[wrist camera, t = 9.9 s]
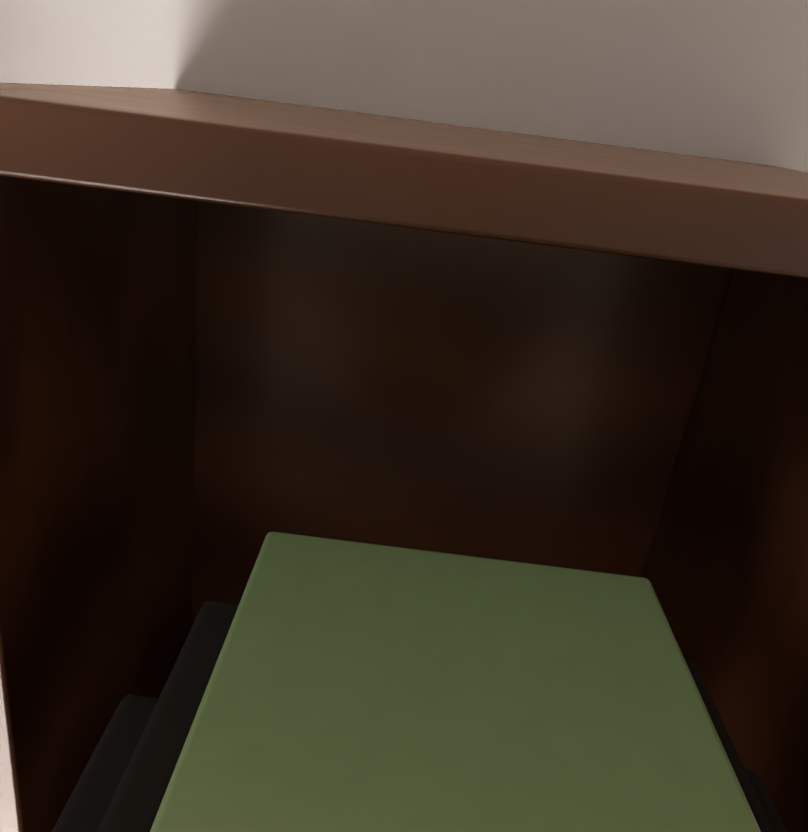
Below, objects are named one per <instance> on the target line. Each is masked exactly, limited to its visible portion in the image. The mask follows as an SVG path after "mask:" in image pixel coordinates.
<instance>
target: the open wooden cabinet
mask: <svg viewBox="0 0 808 832" xmlns="http://www.w3.org/2000/svg"><path fill="white" fill-rule="evenodd" d="M269 532H281V533H289V534H297V535H305V536H313V537H321V538H329V539H337V540H346V541H354V542H362V543H370V544H378V545H386V546H394V547H402V548H410V549H418V550H426V551H434V552H442V553H450V554H458V555H466V556H474V557H483V558H491V559H499V560H507V561H515V562H523V563H531V564H539V565H547V566H555V567H563V568H571V569H579V570H587V571H595V572H603V573H611V574H620V575H628V576H636V577H644V578H646V579H648V580H649V581H650V582H651V585H652V587H653V589H654V591H655V594H656V596H657V598H658V600H659V603H660V605H661V607H662V609H663V612H664V614H665V616H666V618H667V621H668V623H669V625H670V627H671V630H672V632H673V634H674V637H675V639H676V641H677V643H678V646H679V648H680V650H681V652H682V655H683V657H684V659H685V660H687V661H692V662H694V663H695V664H696V666H697V667H698V669H699V671H700V673H701V675H702V677H703V680H704V682H705V684H706V686H707V688H708V691H709V693H710V695H711V697H712V699H713V701H714V704H715V706H716V708H717V710H718V712H719V715H720V717H721V719H722V721H723V723H724V725H725V728H726V730H727V732H728V734H729V736H730V739H731V741H732V743H733V745H734V747H735V749H736V752H737V754H738V756H739V758H740V760H741V763H742V765H743V767H744V769H745V770H751V771H753V772H754V773H755V774H756V775H757V776H759V778H760V779H761V781H762V783H763V784H764V786H765V787H766V789H767V792H768V794H769V796H770V798H771V800H772V802H773V804H774V806H775V808H776V810H777V813H778V815H779V817H780V819H781V821H782V823H783V825H784V827H785V829H786V831H787V832H808V173H806V172H801V171H796V170H792V169H787V168H782V167H775V166H767V165H759V164H751V163H744V162H736V161H728V160H720V159H713V158H705V157H697V156H689V155H682V154H674V153H666V152H658V151H651V150H643V149H635V148H627V147H620V146H612V145H604V144H596V143H589V142H581V141H573V140H565V139H558V138H550V137H542V136H534V135H527V134H519V133H511V132H503V131H496V130H488V129H480V128H472V127H465V126H457V125H449V124H441V123H434V122H426V121H418V120H410V119H403V118H395V117H387V116H379V115H372V114H364V113H356V112H348V111H341V110H333V109H325V108H317V107H310V106H302V105H294V104H286V103H279V102H271V101H263V100H256V99H248V98H240V97H232V96H225V95H217V94H209V93H201V92H194V91H186V90H178V89H157V88H130V87H102V86H74V85H46V84H18V83H0V832H52V830H53V828H54V826H55V824H56V822H57V820H58V818H59V817H60V815H61V813H62V811H63V809H64V807H65V805H66V803H67V801H68V799H69V798H70V796H71V794H72V792H73V790H74V788H75V786H76V784H77V782H78V780H79V779H80V777H81V775H82V773H83V771H84V769H85V767H86V765H87V763H88V761H89V760H90V758H91V756H92V754H93V752H94V750H95V748H96V746H97V744H98V742H99V741H100V739H101V737H102V735H103V733H104V731H105V729H106V727H107V725H108V724H109V722H110V720H111V718H112V716H113V714H114V712H115V710H116V708H117V707H118V705H119V704H120V702H121V700H122V699H123V698H124V697H125V696H126V695H128V694H130V695H138V696H147V697H155V698H159V697H160V695H161V693H162V690H163V688H164V686H165V684H166V682H167V680H168V678H169V675H170V673H171V671H172V669H173V667H174V665H175V663H176V660H177V658H178V656H179V654H180V652H181V650H182V647H183V645H184V643H185V641H186V639H187V637H188V635H189V632H190V630H191V628H192V626H193V624H194V622H195V619H196V617H197V615H198V613H199V611H200V609H201V607H202V605H203V603H204V602H206V601H209V602H217V603H225V604H233V605H239V603H240V601H241V598H242V596H243V593H244V591H245V588H246V586H247V583H248V580H249V578H250V575H251V573H252V570H253V568H254V565H255V563H256V560H257V557H258V555H259V552H260V550H261V547H262V545H263V542H264V540H265V537H266V535H267V534H268V533H269Z"/></svg>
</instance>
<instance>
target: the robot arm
mask: <svg viewBox="0 0 808 832" xmlns="http://www.w3.org/2000/svg"><path fill="white" fill-rule="evenodd" d="M238 606H239V605H233V604H225V603H217V602H209V601H206V602H204V603H203V605H202V607H201V609H200V611H199V613H198V615H197V617H196V619H195V622H194V624H193V626H192V628H191V630H190V632H189V635H188V637H187V639H186V641H185V643H184V645H183V647H182V650H181V652H180V654H179V656H178V658H177V660H176V663H175V665H174V667H173V669H172V671H171V673H170V675H169V678H168V680H167V682H166V684H165V686H164V688H163V690H162V693H161V695H160V697H159V698H155V697H147V696H138V695H130V694H128V695H126V696H125V697H124V698H123V699H122V700H121V702H120V704H119V705H118V707H117V708H116V710H115V712H114V714H113V716H112V718H111V720H110V722H109V724H108V725H107V727H106V729H105V731H104V733H103V735H102V737H101V739H100V741H99V742H98V744H97V746H96V748H95V750H94V752H93V754H92V756H91V758H90V760H89V761H88V763H87V765H86V767H85V769H84V771H83V773H82V775H81V777H80V779H79V780H78V782H77V784H76V786H75V788H74V790H73V792H72V794H71V796H70V798H69V799H68V801H67V803H66V805H65V807H64V809H63V811H62V813H61V815H60V817H59V818H58V820H57V822H56V824H55V826H54V828H53V830H52V832H150V830H151V828H152V825H153V823H154V820H155V817H156V815H157V812H158V810H159V807H160V805H161V802H162V800H163V797H164V794H165V792H166V789H167V787H168V784H169V782H170V779H171V777H172V774H173V772H174V769H175V766H176V764H177V761H178V759H179V756H180V754H181V751H182V749H183V746H184V744H185V741H186V738H187V736H188V733H189V731H190V728H191V726H192V723H193V721H194V718H195V715H196V713H197V710H198V708H199V705H200V703H201V700H202V698H203V695H204V693H205V690H206V687H207V685H208V682H209V680H210V677H211V675H212V672H213V670H214V667H215V665H216V662H217V659H218V657H219V654H220V652H221V649H222V647H223V644H224V642H225V639H226V636H227V634H228V631H229V629H230V626H231V624H232V621H233V619H234V616H235V614H236V611H237V608H238ZM685 661H686V664H687V666H688V668H689V670H690V673H691V675H692V677H693V679H694V682H695V684H696V686H697V688H698V691H699V693H700V695H701V698H702V700H703V702H704V704H705V707H706V709H707V711H708V713H709V716H710V718H711V720H712V722H713V725H714V727H715V729H716V731H717V734H718V736H719V738H720V740H721V743H722V745H723V747H724V750H725V752H726V754H727V756H728V759H729V761H730V763H731V765H732V768H733V770H734V772H735V774H736V777H737V779H738V781H739V783H740V786H741V788H742V790H743V792H744V795H745V797H746V799H747V802H748V804H749V806H750V808H751V811H752V813H753V815H754V817H755V820H756V822H757V824H758V826H759V829H760V831H761V832H787V831H786V829H785V827H784V825H783V823H782V821H781V819H780V817H779V815H778V813H777V810H776V808H775V806H774V804H773V802H772V800H771V798H770V796H769V794H768V792H767V789H766V787H765V786H764V784H763V783H762V781H761V779H760V778H759V776H757V775H756V774H755V773H754V772H753V771H751V770H745V769H744V767H743V765H742V763H741V760H740V758H739V756H738V754H737V752H736V749H735V747H734V745H733V743H732V741H731V739H730V736H729V734H728V732H727V730H726V728H725V725H724V723H723V721H722V719H721V717H720V715H719V712H718V710H717V708H716V706H715V704H714V701H713V699H712V697H711V695H710V693H709V691H708V688H707V686H706V684H705V682H704V680H703V677H702V675H701V673H700V671H699V669H698V667H697V666H696V664H695V663H694V662H692V661H687V660H685Z"/></svg>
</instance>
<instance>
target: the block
mask: <svg viewBox="0 0 808 832" xmlns="http://www.w3.org/2000/svg"><path fill="white" fill-rule="evenodd" d="M150 832H761V831H760V829H759V826H758V824H757V822H756V820H755V817H754V815H753V813H752V811H751V808H750V806H749V804H748V802H747V799H746V797H745V795H744V792H743V790H742V788H741V786H740V783H739V781H738V779H737V777H736V774H735V772H734V770H733V768H732V765H731V763H730V761H729V759H728V756H727V754H726V752H725V750H724V747H723V745H722V743H721V740H720V738H719V736H718V734H717V731H716V729H715V727H714V725H713V722H712V720H711V718H710V716H709V713H708V711H707V709H706V707H705V704H704V702H703V700H702V698H701V695H700V693H699V691H698V688H697V686H696V684H695V682H694V679H693V677H692V675H691V673H690V670H689V668H688V666H687V664H686V661H685V659H684V657H683V655H682V652H681V650H680V648H679V646H678V643H677V641H676V639H675V637H674V634H673V632H672V630H671V627H670V625H669V623H668V621H667V618H666V616H665V614H664V612H663V609H662V607H661V605H660V603H659V600H658V598H657V596H656V594H655V591H654V589H653V587H652V585H651V582H650V581H649V580H648V579H646V578H644V577H636V576H628V575H620V574H611V573H603V572H595V571H587V570H579V569H571V568H563V567H555V566H547V565H539V564H531V563H523V562H515V561H507V560H499V559H491V558H483V557H474V556H466V555H458V554H450V553H442V552H434V551H426V550H418V549H410V548H402V547H394V546H386V545H378V544H370V543H362V542H354V541H346V540H337V539H329V538H321V537H313V536H305V535H297V534H289V533H281V532H269V533H268V534H267V535H266V537H265V540H264V542H263V545H262V547H261V550H260V552H259V555H258V557H257V560H256V563H255V565H254V568H253V570H252V573H251V575H250V578H249V580H248V583H247V586H246V588H245V591H244V593H243V596H242V598H241V601H240V603H239V606H238V608H237V611H236V614H235V616H234V619H233V621H232V624H231V626H230V629H229V631H228V634H227V636H226V639H225V642H224V644H223V647H222V649H221V652H220V654H219V657H218V659H217V662H216V665H215V667H214V670H213V672H212V675H211V677H210V680H209V682H208V685H207V687H206V690H205V693H204V695H203V698H202V700H201V703H200V705H199V708H198V710H197V713H196V715H195V718H194V721H193V723H192V726H191V728H190V731H189V733H188V736H187V738H186V741H185V744H184V746H183V749H182V751H181V754H180V756H179V759H178V761H177V764H176V766H175V769H174V772H173V774H172V777H171V779H170V782H169V784H168V787H167V789H166V792H165V794H164V797H163V800H162V802H161V805H160V807H159V810H158V812H157V815H156V817H155V820H154V823H153V825H152V828H151V830H150Z"/></svg>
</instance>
